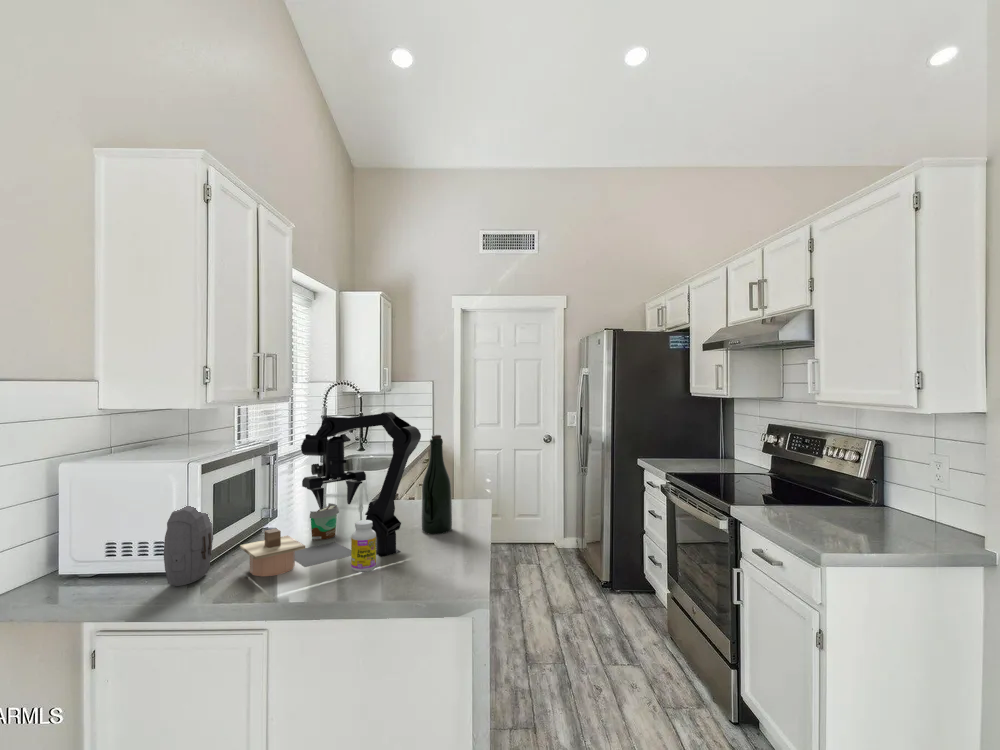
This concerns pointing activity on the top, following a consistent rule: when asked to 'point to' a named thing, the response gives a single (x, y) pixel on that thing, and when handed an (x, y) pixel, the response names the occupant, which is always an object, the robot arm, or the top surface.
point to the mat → (321, 554)
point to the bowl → (272, 564)
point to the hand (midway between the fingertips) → (335, 506)
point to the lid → (272, 545)
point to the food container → (324, 522)
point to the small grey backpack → (187, 546)
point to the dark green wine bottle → (436, 492)
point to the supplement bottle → (363, 547)
